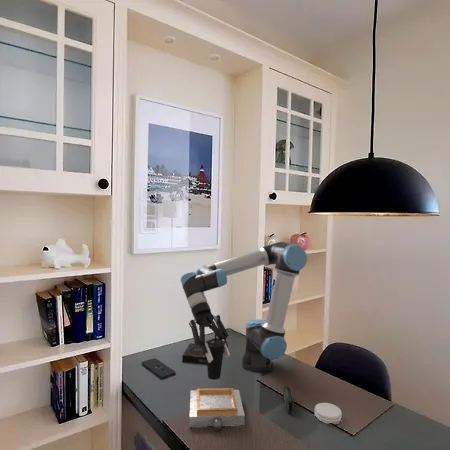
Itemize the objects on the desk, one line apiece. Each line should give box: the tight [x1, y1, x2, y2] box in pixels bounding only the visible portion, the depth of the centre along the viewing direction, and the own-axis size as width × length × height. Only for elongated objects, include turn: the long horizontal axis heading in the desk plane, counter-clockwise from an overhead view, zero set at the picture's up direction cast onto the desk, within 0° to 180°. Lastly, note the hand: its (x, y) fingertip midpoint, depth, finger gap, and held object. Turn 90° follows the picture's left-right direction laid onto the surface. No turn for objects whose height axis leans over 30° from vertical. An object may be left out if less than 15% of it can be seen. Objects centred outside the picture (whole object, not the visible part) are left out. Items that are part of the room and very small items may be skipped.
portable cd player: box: [181, 342, 207, 365], centre depth 184 cm, size 16×17×4 cm
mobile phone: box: [282, 385, 295, 417], centre depth 139 cm, size 5×3×15 cm
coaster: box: [314, 402, 343, 423], centre depth 132 cm, size 10×10×4 cm
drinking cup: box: [205, 325, 225, 381], centre depth 133 cm, size 8×8×20 cm
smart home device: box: [141, 357, 177, 380], centre depth 168 cm, size 8×2×20 cm
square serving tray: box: [189, 387, 246, 432], centre depth 132 cm, size 20×21×6 cm
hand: (219, 358), depth 130 cm, fingers closed on drinking cup, 7 cm apart
